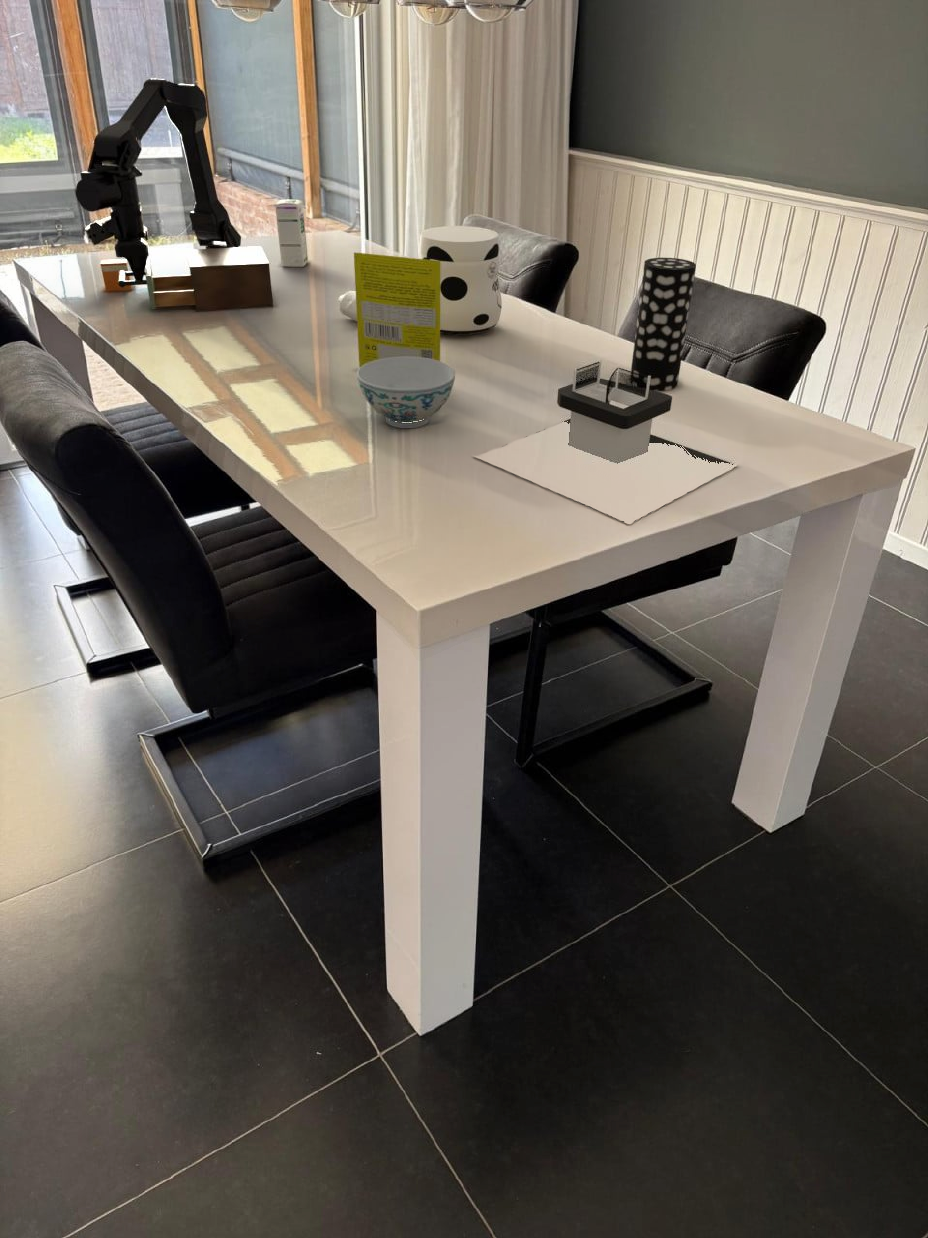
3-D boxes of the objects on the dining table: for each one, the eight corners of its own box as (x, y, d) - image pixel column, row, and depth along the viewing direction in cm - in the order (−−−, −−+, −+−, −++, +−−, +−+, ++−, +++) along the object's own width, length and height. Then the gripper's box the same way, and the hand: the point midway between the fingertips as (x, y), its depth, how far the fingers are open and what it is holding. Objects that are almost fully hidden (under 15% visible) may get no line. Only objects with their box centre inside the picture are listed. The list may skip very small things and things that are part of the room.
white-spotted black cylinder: (648, 393, 153) (665, 271, 141) (620, 378, 159) (634, 260, 148) (687, 386, 156) (706, 266, 145) (657, 372, 162) (674, 255, 151)
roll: (355, 310, 191) (354, 283, 188) (384, 324, 183) (383, 296, 180) (330, 314, 188) (329, 287, 185) (359, 329, 180) (357, 300, 177)
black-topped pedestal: (739, 466, 129) (757, 375, 121) (628, 525, 113) (642, 426, 106) (587, 412, 145) (595, 329, 138) (473, 457, 130) (475, 367, 122)
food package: (441, 380, 156) (441, 260, 145) (438, 382, 155) (439, 261, 144) (360, 369, 160) (355, 251, 149) (358, 371, 159) (352, 252, 148)
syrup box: (304, 266, 222) (299, 203, 214) (280, 266, 222) (274, 202, 214) (308, 261, 227) (303, 199, 219) (285, 261, 227) (279, 198, 219)
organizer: (196, 311, 189) (190, 266, 183) (193, 291, 201) (186, 249, 196) (273, 306, 192) (269, 262, 187) (265, 287, 205) (260, 246, 200)
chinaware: (419, 446, 133) (419, 396, 128) (339, 424, 139) (336, 376, 135) (472, 415, 143) (473, 368, 139) (396, 396, 150) (395, 350, 145)
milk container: (518, 328, 183) (522, 234, 172) (459, 346, 172) (461, 247, 162) (456, 311, 192) (457, 221, 182) (398, 327, 182) (395, 232, 172)
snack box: (105, 291, 200) (100, 263, 196) (106, 287, 203) (100, 260, 199) (131, 290, 201) (126, 262, 198) (132, 286, 204) (126, 258, 201)
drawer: (122, 310, 184) (115, 277, 181) (123, 290, 197) (117, 259, 193) (230, 303, 190) (226, 271, 186) (224, 285, 202) (220, 254, 199)
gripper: (85, 196, 186) (101, 274, 195) (80, 213, 172) (97, 296, 180) (141, 195, 189) (154, 272, 198) (141, 211, 174) (155, 293, 183)
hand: (139, 283), depth 190 cm, fingers closed, pressing on drawer
